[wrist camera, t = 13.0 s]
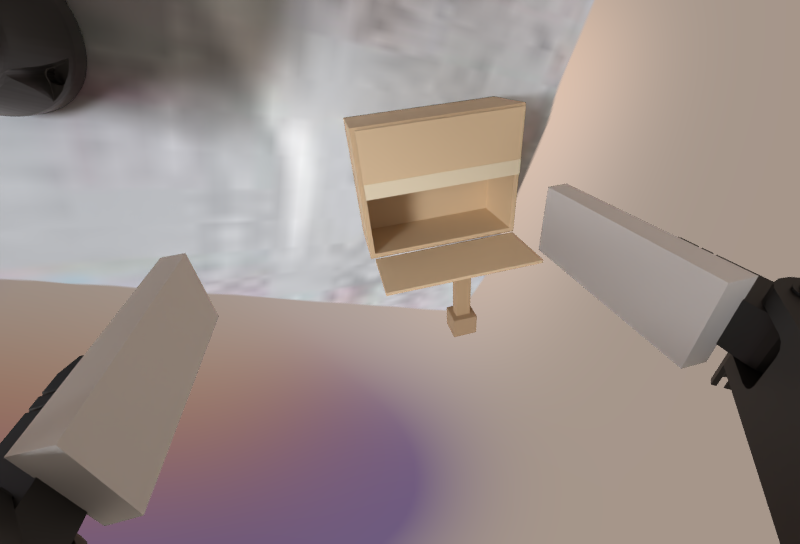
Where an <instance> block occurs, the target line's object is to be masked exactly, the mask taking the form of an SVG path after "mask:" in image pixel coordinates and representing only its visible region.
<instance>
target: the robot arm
mask: <svg viewBox="0 0 800 544" xmlns="http://www.w3.org/2000/svg"><path fill="white" fill-rule="evenodd" d="M86 66H87V60H86V50H85V45H84V41H83V38H82V35H81V32H80V29H79V27H78V24H77V22H76V20H75V18H74V16H73V14H72V12H71V10H70V8H69V7H68V5H67V3H66V2H65V0H0V115H1V116H31V115H37V114H42V113H47V112H51V111H54V110H57V109H59V108H61V107H63V106H65V105H67V104H68V103H69V102H71V101H72V100H73V99H74V98H75V96H76V95H77V94H78V92H79V91H80V89H81V87H82V85H83V82H84V79H85V75H86ZM539 250H540V251H541V252H542V253H543V254H545V255H546V256H547V257H548V258H549V259H550V260H552V261H553V262H554V263H555V264H557V265H558V266H559V267H560V268H561V269H562V270H564V271H565V272H566V273H567V274H569V275H570V276H571V277H572V278H573V279H574V280H576V281H577V282H578V283H579V284H581V285H582V286H583V287H584V288H585V289H587V290H588V291H589V292H590V293H591V294H592V295H594V296H595V297H596V298H597V299H598V300H600V301H601V302H602V303H603V304H604V305H606V306H607V307H608V308H609V309H610V310H612V311H613V312H614V313H615V314H616V315H618V316H619V317H620V318H621V319H622V320H624V321H625V322H626V323H627V324H628V325H630V326H631V327H632V328H633V329H634V330H636V331H637V332H638V333H639V334H640V335H642V336H643V337H644V338H645V339H646V340H648V341H649V342H650V343H651V344H652V345H654V346H655V347H656V348H657V349H658V350H660V351H661V352H662V353H663V354H664V355H666V356H667V357H668V358H669V359H670V360H672V361H673V362H674V363H675V364H676V365H677V366H679V367H680V368H681V369H682V368H685V367H689V366H692V365H696V364H700V363H703V362H706V361H707V360H708V358H709V356H710V355H711V353H712V352H713V350H714V348H715V346H716V345H719V346H720V347H721V348H723V349H724V350H726V351H727V352H728V353H727V355H726V357H725V358H724V360H723V361H722V363H721V364H720V366H719V367H718V369H717V371H716V372H715V374H714V375H713V377H712V378H711V385H715V386H716V385H717V384H718V383H719V381H720V380H721V378H722V377H727V378H728V382H727V383H726V385H725V386H724V388H726V389H730V390H732V393H733V396H734V400H735V403H736V406H737V409H738V412H739V416H740V419H741V422H742V425H743V428H744V431H745V434H746V438H747V441H748V444H749V447H750V450H751V453H752V456H753V460H754V463H755V466H756V469H757V472H758V475H759V479H760V482H761V485H762V488H763V491H764V494H765V497H766V500H767V504H768V507H769V510H770V513H771V516H772V519H773V522H774V525H775V529H776V532H777V535H778V538H779V541H780V544H800V278H795V277H787V278H780V279H778V280H776V281H775V282H773V281H770V280H768V279H766V278H764V277H762V276H760V275H758V274H756V273H754V272H752V271H749V270H747V269H745V268H743V267H741V266H739V265H737V264H735V263H733V262H731V261H729V260H726V259H724V258H722V257H720V256H718V255H714V254H713V253H712V252H710V251H708V250H706V249H703V248H699V246H697V245H695V244H693V243H691V242H689V241H687V240H685V239H682V238H679V237H676V236H674V235H672V234H670V233H668V232H666V231H664V230H662V229H660V228H658V227H656V226H654V225H652V224H649V223H647V222H645V221H643V220H641V219H639V218H637V217H635V216H633V215H631V214H629V213H627V212H624V211H622V210H620V209H618V208H616V207H614V206H612V205H610V204H608V203H606V202H603V201H602V200H599V199H597V198H595V197H593V196H591V195H589V194H587V193H585V192H583V191H581V190H579V189H577V188H574V187H572V186H570V185H568V184H562V185H557V186H551V187H548V193H547V200H546V206H545V212H544V219H543V226H542V232H541V238H540V245H539ZM218 317H219V316H218V314H217V312H216V310H215V308H214V306H213V304H212V302H211V301H210V299H209V297H208V295H207V293H206V291H205V289H204V287H203V285H202V284H201V282H200V280H199V278H198V276H197V274H196V272H195V270H194V269H193V267H192V265H191V263H190V261H189V259H188V257H187V255H186V254H185V253H184V254H179V255H173V256H168V257H162V258H160V259H159V261H158V262H157V263H156V264H155V266H154V267H153V268H152V270H151V271H150V272H149V273H148V275H147V276H146V277H145V278H144V280H143V281H142V282H141V284H140V285H139V286H138V287H137V289H136V290H135V291H134V292H133V294H132V295H131V296H130V298H129V299H128V300H127V301H126V303H125V304H124V305H123V306H122V308H121V309H120V310H119V311H118V313H117V314H116V315H115V317H114V318H113V319H112V320H111V322H110V323H109V324H108V326H107V327H106V328H105V329H104V331H103V332H102V333H101V334H100V336H99V337H98V338H97V339H96V341H95V342H94V343H93V345H92V346H91V347H90V348H89V350H88V351H87V352H86V354H85V355H83V356H79V357H78V358H77V359H76V360H74V361H73V362H72V363H71V364H69V365H68V366H67V367H66V368H64V369H63V370H62V371H61V372H60V373H58V374H57V376H56V377H55V378H54V379H53V380H52V381H51V383H50V384H49V385H48V386H47V388H46V389H45V390H44V391H43V392H42V394H43V395H42V396H40V397H38V399H37V400H36V401H35V402H34V403H33V405H32V406H31V407H30V408H29V413H25V414H24V415H23V417H22V418H21V419H20V420H19V422H18V423H17V424H16V425H15V426H14V428H13V429H12V430H11V431H10V432H9V434H8V435H7V436H6V437H5V438H4V440H3V441H2V442H1V443H0V544H87V541H86V540H85V539H84V538H82V536H80V535H79V534H77V532H78V530H79V528H80V526H81V524H82V522H83V520H84V518H85V516H86V514H87V515H89V516H90V517H92V518H93V519H95V520H96V521H98V522H99V523H101V524H102V525H104V526H106V525H110V524H113V523H117V522H121V521H125V520H129V519H132V518H136V517H139V516H143V515H144V513H145V511H146V508H147V505H148V503H149V500H150V497H151V495H152V492H153V489H154V487H155V484H156V481H157V479H158V476H159V474H160V471H161V468H162V465H163V463H164V460H165V458H166V455H167V452H168V450H169V447H170V444H171V442H172V439H173V436H174V434H175V431H176V428H177V426H178V423H179V420H180V418H181V415H182V412H183V410H184V407H185V404H186V402H187V399H188V397H189V394H190V391H191V389H192V386H193V383H194V381H195V378H196V375H197V373H198V370H199V367H200V364H201V362H202V359H203V356H204V354H205V351H206V349H207V346H208V343H209V341H210V338H211V336H212V333H213V330H214V328H215V325H216V322H217V319H218Z"/></svg>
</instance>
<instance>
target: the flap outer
mask: <svg viewBox="0 0 800 544" xmlns="http://www.w3.org/2000/svg"><path fill="white" fill-rule="evenodd" d="M376 263H377V266H378V270H379V273H380V276H381V280H382V283H383V286H384V289H385V293H386V296H389V295H393V294H398V293H403V292H407V291H412V290H417V289H422V288H426V287H431V286H436V285H440V284H445V283H450V282H453V306H451V307H447V324H448V326H449V328H450V330H451V332H452V333H453V336H454V337H457V336H461V335H465V334H469V333H473V332H476V320H477V316H476V314H475V313H474V311H473V310H472V308H471V306H470V290H471V278H473V277H478V276H482V275H487V274H491V273H496V272H501V271H506V270H510V269H515V268H520V267H524V266H529V265H534V264H539V263H543V259H542V258H540V256H538V255H537V254H536V253H535V252H534V251H533V250H532V249H531V248H529V247H528V246H527V245H526V244H525V243H524V242H523V241H521V240H520V239H519V238H518V237H517V236H516V235H515V234H514V233H507V234H502V235H496V236H491V237H486V238H481V239H476V240H471V241H466V242H461V243H456V244H451V245H446V246H441V247H436V248H431V249H426V250H421V251H416V252H411V253H406V254H401V255H396V256H391V257H386V258H381V259H376Z"/></svg>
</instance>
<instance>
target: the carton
mask: <svg viewBox="0 0 800 544" xmlns="http://www.w3.org/2000/svg"><path fill="white" fill-rule="evenodd" d="M525 110H526V103H525V102H520V101H515V100H510V99H504V98H499V97H487V98H480V99H473V100H466V101H459V102H452V103H445V104H438V105H431V106H423V107H416V108H409V109H402V110H395V111H388V112H381V113H374V114H367V115H360V116H353V117H346V118H343V119H344V124H345V130H346V136H347V141H348V147H349V152H350V158H351V164H352V169H353V175H354V180H355V186H356V192H357V197H358V203H359V209H360V214H361V220H362V225H363V231H364V235H365V239H366V242H367V246H368V249H369V252H370V256H371V259H373V258H378V257H383V256H388V255H393V254H398V253H403V252H408V251H413V250H419V249H424V248H429V247H434V246H439V245H444V244H449V243H454V242H459V241H464V240H469V239H474V238H479V237H484V236H489V235H494V234H499V233H505V232H509V231H513V226H514V216H515V207H516V197H517V187H518V177H519V174H520V164H521V150H522V140H523V130H524V120H525Z"/></svg>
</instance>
